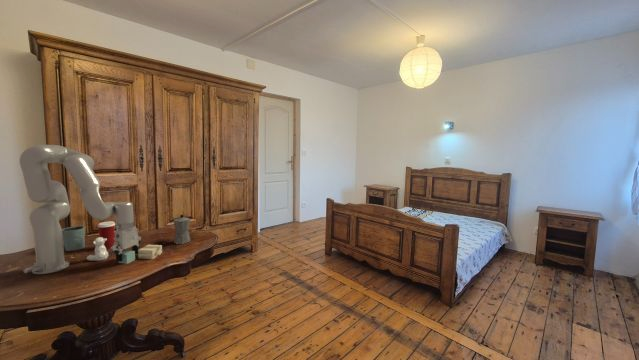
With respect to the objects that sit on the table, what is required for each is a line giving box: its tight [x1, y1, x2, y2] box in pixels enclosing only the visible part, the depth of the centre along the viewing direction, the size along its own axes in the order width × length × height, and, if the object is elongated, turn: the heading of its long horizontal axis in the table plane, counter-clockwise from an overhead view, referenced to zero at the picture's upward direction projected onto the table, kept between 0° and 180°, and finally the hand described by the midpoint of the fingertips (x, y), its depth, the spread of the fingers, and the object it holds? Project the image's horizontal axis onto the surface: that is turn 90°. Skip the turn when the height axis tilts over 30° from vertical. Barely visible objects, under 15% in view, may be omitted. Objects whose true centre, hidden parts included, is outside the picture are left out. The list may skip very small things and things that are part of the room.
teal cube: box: [118, 249, 136, 265], centre depth 138 cm, size 5×5×5 cm
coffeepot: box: [173, 214, 191, 245], centre depth 169 cm, size 15×9×18 cm, turn 27°
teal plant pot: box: [61, 225, 86, 252], centre depth 153 cm, size 10×10×12 cm
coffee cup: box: [97, 221, 116, 250], centre depth 155 cm, size 8×8×15 cm
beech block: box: [137, 244, 163, 260], centre depth 146 cm, size 8×8×5 cm
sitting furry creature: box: [86, 236, 109, 262], centre depth 140 cm, size 10×9×12 cm
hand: (127, 257), depth 138 cm, fingers open, 9 cm apart
